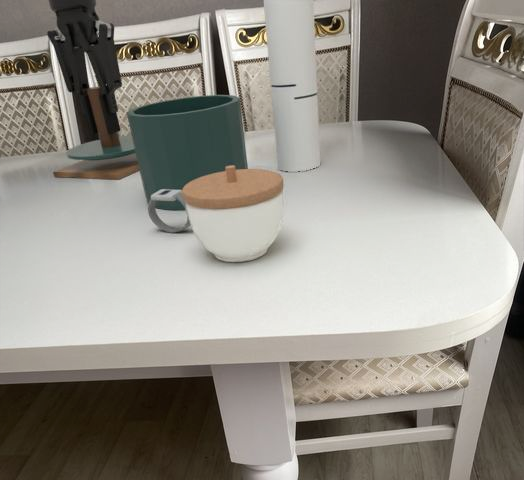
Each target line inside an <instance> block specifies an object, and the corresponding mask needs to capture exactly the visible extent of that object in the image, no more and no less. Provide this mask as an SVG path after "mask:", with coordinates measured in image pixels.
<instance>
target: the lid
mask: <svg viewBox="0 0 524 480" xmlns="http://www.w3.org/2000/svg"><path fill="white" fill-rule="evenodd" d="M99 92H101V89H100V87H99V85H98V86H92V87H89V88H87V93H88V97H89V101H90V105H91V108H92V112H93V116H94V120H95V124H96V128H97V131H98V133H97V135H98V138H99V139H97V140H96V139H95V140H91V141H89V142H84V143H82V144H78V145H75V146H73V147H71V148H69V149H67V151H66V152H65V154H66V157H67V158H68V159H70V160H73V161H82V160H105V159H112V158H118V157H123V156H127V155H131V154H134V153H135V148H134V144H133V139H132V135H131V134H130V135H119V131H118V132H115V133H112V134H108V131H107V127H106V123H105V119H104V115H103V111H102V107H101V103H100V99H99V95H100V94H99Z"/></svg>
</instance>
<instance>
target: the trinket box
mask: <svg viewBox="0 0 524 480" xmlns="http://www.w3.org/2000/svg"><path fill="white" fill-rule="evenodd" d="M225 169H226V171H223V172H218V173H213V174H209V175H206V176H202V177H200V178H197V179H195V180H193V181H191V182H189V183H188V184H186V185H185V186H184V188H183V189H182V195H183V199H184V201H185V204H186V210H187V212H186V215H187V214H188V218H189V221H190V224H191V225H190V227H191V229H192V231H193V234H194V236H195V238H196V239H197V241H198V243H200V245H202V247H203V248H204V249H206V250H207V251H208V252H209V253H211V254H213V255H214V257H215V258H216V259H217V260H218V261H221V262H225V263H226V262H227V263H243V262H249V261H254V260H256V259H259V258H261V257H263V256H264V255H265V254H267V253H268V251H269V248H270V246H271V245H272V244H273V243H274V242H275V241H276V239H277V237H278V235H279V233H280V231H281V228H282V225H283V218H284V209H285V203H284V178H283V176H282V175H281V174H280V173H279V172H277V171H273V170H268V169H261V168H260V169H259V168H248V169H239V170H236V169H235V166H233V165H231V166H226V167H225ZM186 210H185V211H186Z"/></svg>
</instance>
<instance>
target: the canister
mask: <svg viewBox="0 0 524 480" xmlns="http://www.w3.org/2000/svg"><path fill="white" fill-rule="evenodd" d="M126 116H127V122H128V125H129V130H130V135H132V139H133V144H134V148H135V153H136V157H137V162H138V166H139V174H140V178H141V184H142V187H143V192H144V197H145V199H146V203H147V204H148V205H149V202H150V199H151V195H152V194H154V193H156V192H158V191H159V190H161V189H169V190H182V189H183V188H184V186H185V185H186V184H188V183H189V182H191V181H193V180H195V179H197V178H200V177H202V176H206V175H209V174H213V173H218V172H223V171H226V169H225V167H226V166H231V165H233V166H235V169H236V170H239V169H249V166H248V165H249V164H248V158H247V149H246V148H247V147H246V138H245V131H244V122H243V114H242V105H241V97H239V96H236V95H232V94H211V95H210V94H208V95H196V96H186V97H180V98H173V99H166V100H160V101H156V102H151V103H147V104H143V105H140V106H137V107H133V108H131V109H130V110H128V111H126ZM155 209H160V210H166V211H186V210H185V208H184V206H183V205H182V204H181V202H180V201H179V200H175V201H160V200H156V203H155Z"/></svg>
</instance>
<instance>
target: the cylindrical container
mask: <svg viewBox="0 0 524 480" xmlns="http://www.w3.org/2000/svg"><path fill="white" fill-rule="evenodd" d="M314 5H315V3H314V0H263V10H264V11H263V12H264V21H265V22H264V23H265V24H264V25H265V33H266V45H267V57H268V69H269V70H268V71H269V80H270V93H271V105H272V115H273V116H272V117H273V127H274V140H275V152H276V163H277V170H279V171H281V170H282V171H281V172H285V171H288V172H287V173H299V172H298V171H300V172H307V171H311V170H314V169H313V168H315V169H316V167H317V168H319V167H320V166H321V149H320V148H321V146H320V125H319V121H320V120H319V101H318V77H317V76H318V75H317V52H316V51H317V49H316V31H315V6H314ZM318 166H319V167H318ZM310 169H311V170H310ZM306 170H307V171H306Z"/></svg>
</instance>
